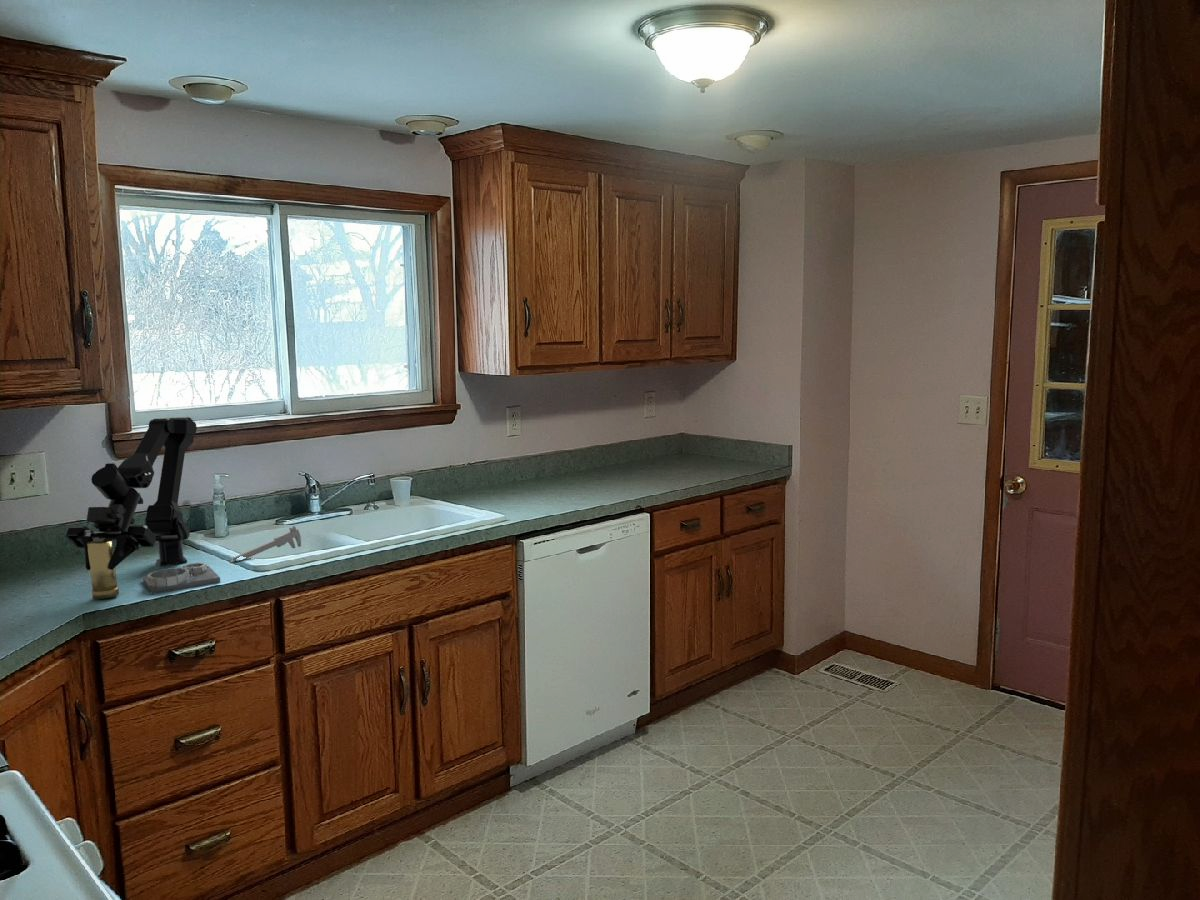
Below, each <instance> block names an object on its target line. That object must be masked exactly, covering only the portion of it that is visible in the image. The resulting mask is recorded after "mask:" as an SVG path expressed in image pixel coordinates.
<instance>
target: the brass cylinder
mask: <svg viewBox="0 0 1200 900" xmlns="http://www.w3.org/2000/svg"><path fill="white" fill-rule="evenodd" d="M87 547H88V555H89V564H90V570H89V572H90V578H91V579H90V580H91V588H92V589H91V595H92V599H95V600H96V599H97V600H102V599H110V598H113V597H116V596H118V595H119V594H120V589H119V585H118V581H117V580H118V579H117V570H116V567H115V568H114V569H113V570H111V569H110V568H109V564H110V561H111V558H112V555H113V553H114V548H113V547H114V544H113V540H110V539H105V537H103V536H102V537H95V538H93V541H91V542H89V543H87Z"/></svg>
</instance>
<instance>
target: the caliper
mask: <svg viewBox="0 0 1200 900" xmlns="http://www.w3.org/2000/svg"><path fill="white" fill-rule="evenodd" d="M288 528H289V531H287V532H285V533H283V534H281V535H277V536H276V537H274V539H272V540H271V541H268V542H266V543H263V544H261V545H258V546H257V547H255V548H252V549H249V550H247V551H245V552H242V553H240V554H238V555H236V556H233V558H232V559H231V560H229V563H230V564H234V563H235V561H236V559H237V558H239V557H240V556H243V557H246V558H247V559H249V558H251V557H253V556H256V555H258V554H260V553H262V552H264V551H268V550H269V549H272V548H273V547H274V548H275V547H277V548H281V547H282V546H285V545H286V544H287V543H288V544H289V545H290V548H292V549H296V544H297V547H298V548H300V547H302V539H301V538H302V536H301V534H300V530H299V529H297V528H296V526H294V525H293V526H292V527H288ZM294 540H295V542H296V543H295V542H294Z"/></svg>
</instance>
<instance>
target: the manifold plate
mask: <svg viewBox="0 0 1200 900" xmlns="http://www.w3.org/2000/svg"><path fill="white" fill-rule="evenodd" d="M142 582H143V584H144V583H145V584H144V585H145V587H146V586H147V587H146V588H147V590H148V591H149V593H150V594H151V593H152V594H151V595H155V594H154V593H156V594H161V593H166V592H171V591H177V590H183V589H188V588H189V589H190V588H193V587H201V586H205V585H206V586H207V585H210V584H216V583H221V576H219V575H218V574H217V573H216V572H215V570H213V569H212V568H211V567H210V566H209V565H207V563H206V562H192V563H188V564H185V565H183V566H182V567H168V568H164V569H159V570H154V571H152V572H149V573H148V574H147V575H145V576H142Z"/></svg>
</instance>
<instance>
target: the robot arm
mask: <svg viewBox="0 0 1200 900" xmlns="http://www.w3.org/2000/svg"><path fill="white" fill-rule="evenodd" d="M196 433H197V423H196V421H194V420H193V419H192V418H191V417H188V416H187V417H186V416H185V417H166V418H165V417H164V418H153V419H151V420H150V421H149V423H148V428H147V430H146V432H145V433H144V436H143V437H142V438H141V441H140V443H139V444H138V445H137V447H136V449H135V451H134V453H133V455H131V456H130V457H128V458H126V459H124V460H123V461H122V462H121V463H120V464H119V466H117V464H116V463H114V462H113V463H109V462H108V463H105V464H104V467H101V468H100V469H98V470H96V471H95V472H94V473H93V474H92V476H91V484H92V485H93V486H94V487H95V489H97V490H98V492H99V493H100V494H101V495H102V496H103V497H104V498H105V499H107V500H109V504H108V506H91V507H90V506H89V507H88V508H87V514H86V522H88V523H89V522H90V523H93V524H94V525H93V526H94V528H95V529H98V531H93V530H90V528H88V526H86V525H82V526H81V525H79V526H77V525H76V526H75V525H74V526H70V527H68V528H67V529H66V532H65V534H64V537H65V538H67V540H68V541H69V542H70V543H71V544H72V545H74V547H76V548H79V549H84V556H85V557H84V558H85V568H86V570H87V571H90V564H89V555H88V547H87V543H89V542H91V541H93V538H95V537H102V536H103V537H105V539H110V540H112V541H116V544H115V548H114V549H113V555H112V558H111V561H110V564H109V568H110V569H111V570H113V569H114V568H115V569H116V567H117V566H119V565H120V563H122V562H123V561H124V560H125V559H126V558H127V557H129V556H130V555H131V554H133V553H134V552H135V551H139V550H140V547H141V548H153V547H154V546H155V543H156V542H157V549H158V559H156V563H157V564H158V565H159V566H160V567H164V566H165V567H166V566H172V565H177V564H182V563H183V564H185V563H187V562H188V559H187V558H186V557H185V556H184V549H183V541H185V540H188V539H189V538H190V534H191V529H190V527H189V526H188V524H186V522H185V521H184V520H183V517H184V515H183V511H182V510H181V508H180V505H179V495H180V491H181V490H180V489H181V482H182V475H183V468H184V461H185V455H186V451H187V450H188V449H189V448H190V446H191V445H192V444H193V442H194V440H195V435H196ZM163 447H164V452H163V453H164V454H163V459H162V466H161V473H160V480H159V485H158V492H157V493H158V494H157V499H156V501H155V502H154V503H153V504H151V505H150V504H149V505H148V506H147V508H146V517H145V520H144V521H145V522H144V524H137V525H135V522H136V520H135V518H134V514H135V511H136V509H137V508H138V507H137V506H138V505H143V504H144V499H143V497H142V495H141V493H140V492H139V491H137V489H147V488H149V486H151V483H152V481H153V477H154V475H155V471H154V468H153V465H155V464H154V463H155V461H156V459H157V458H158V456H159V454H160V453H161V450H162V448H163ZM131 524H132V525H131Z"/></svg>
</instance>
